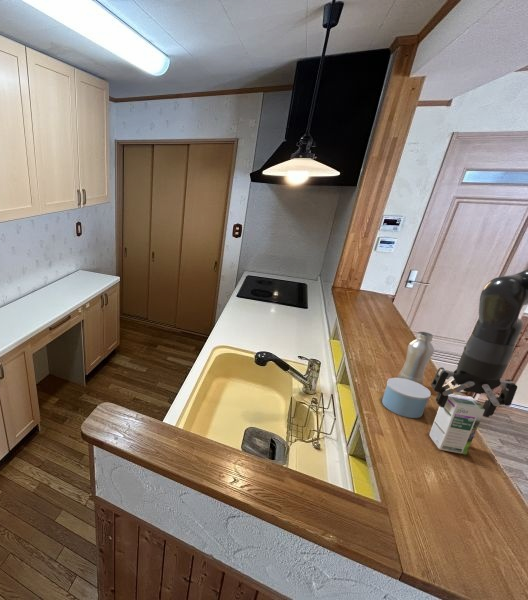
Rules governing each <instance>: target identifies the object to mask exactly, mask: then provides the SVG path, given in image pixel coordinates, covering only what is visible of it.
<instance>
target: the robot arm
mask: <svg viewBox="0 0 528 600" xmlns="http://www.w3.org/2000/svg"><path fill="white" fill-rule="evenodd" d="M527 305H528V268H527V269H525V270H522V271H520V272H517V273H515V274H510V275H509V274H508V275H502V276H497V277H494V278H493V279H491V280H490V281H488V282H487V283H486V284H485V285H484V287H483V288H482V290H481V293H480V297H479V302H478V319H477V320H476V322H475V324H474V327H473V331H472V332H471V335H470V336H469V338H468V339H467V341H466V344H465V345H464V347H463V351H462V353H461V356H460V359H459V360H458V364H457V367H456V369H455V370H453V371H452V370H446V369H445V368H444V367H438V369H437V371H436V373H435V375H434V377H433V380H432V381H431V383H430V385H431V387H432V389H433V391H435V393H436V392H437V395H436V398H435V402H436V403H437V405H438V407H439V406H440V407H443V408H444V407H445V404H446V402H447V399H448V397H449V396H448V395H450V394H455V393H459V392H461V391H464V392H467V393H475V394H478V395H482V394H484V395H485V396H486V398H487V399H485V400H484V404H483V405H482V407H483V408H484V409H485V411H484V413H483V416H482V417H485V418H490V417H492V416H493V415H494V413H495V411H496V410H497V407H499V406H505V407H510V406H511V405H512V403H513V401H514V398H515V395H516V393H517V389H518V385H517V384H516V383H515V382H514V381H512V380H511V379H505V380H502V378H503V375H504V373H505V371H506V369H507V367H508V364H509V362H510V360H511V358H512V356H513V354H514V350H515V347H516V343H517V341H518V339H519V337H520V335H521V333H522V331H523V327H524V322H523V321H522V319H520V318H519V316H520V313H521V311H522V307H523V306H527ZM451 377H453V378H452V379H450V378H451ZM449 379H450V380H449ZM446 380H448V381H446ZM445 382H446V383H445ZM498 387H500V388H501V389H500V393H499V396H496V395H495V393H494V391H493V390H494V389H496V388H498Z"/></svg>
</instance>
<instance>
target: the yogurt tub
mask: <svg viewBox="0 0 528 600" xmlns="http://www.w3.org/2000/svg"><path fill="white" fill-rule="evenodd" d="M431 396H432V392H431V391H430V389H429V388H427V387H426V386H425V385H423V384H422V385H421V384H419V383H417V382H414V381H411V380H408V379H403V378H398V377H390V378H388V379H387V380H386V387H385V389H384V393H383V395H382V399H381V402H382V405H383V406H384V407H385V408H386V409H387V410H389V411H390V412H392V413H394V414H396V415H398V416H401V417H405V418H409V419H419V418H422V416H423V414H424V412H425V410H426V406H427V404H428V401H429V399H430V397H431Z"/></svg>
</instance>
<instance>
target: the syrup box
mask: <svg viewBox="0 0 528 600" xmlns="http://www.w3.org/2000/svg"><path fill="white" fill-rule="evenodd" d="M448 396H449V397H448V399H447V402H446V404H445V407H444V408H443V407H440V406H439V405H438V409H437V412H436V415H435V418H434V421H433V422H432V426H431V428H430V432H429V434H428V436H429V437H430V439H431V440H432V442H433V443H434V444H435V446H436V447H437V449H438V450H440V451H446V452H451V453H455V454H460V455H467V454H468V452H469V448H470V446H471V444H472V442H473V440H474V437H475V435H476V432H477V430H478V428H479V425H480V423H481V421H482V418H483V417H484V416H483V413H484V411H485V409H484V408H483V405H482V404H481V403H479V402H478V401H477V400H476V399H475V398H473V397H472V396H471V395H470V396H469V395H467V396H466V395H460V394H455V393H452V394H450V395H448Z"/></svg>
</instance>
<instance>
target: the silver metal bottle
mask: <svg viewBox="0 0 528 600" xmlns="http://www.w3.org/2000/svg"><path fill="white" fill-rule="evenodd" d="M416 334H417V335H416V339H414V340H412V341H410V342H409V343H408V345H407V349H406V350H407V351H406V356H405V361H404V363H403V366H402V368H401V369H400V371H399V372H398V374H397V378H403V379H408V380H411V381H414V382H417V383H419V384H421V385H423V383H424V375H425V371H426V368H427V366H428V364H429V361H430V360H431V358H432V357H433V355H434V353H435V348H434V346H433V344H432V341H433V338H434V335H433V334H432V333H429V332H427V331H418V332H417V333H416Z"/></svg>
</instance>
